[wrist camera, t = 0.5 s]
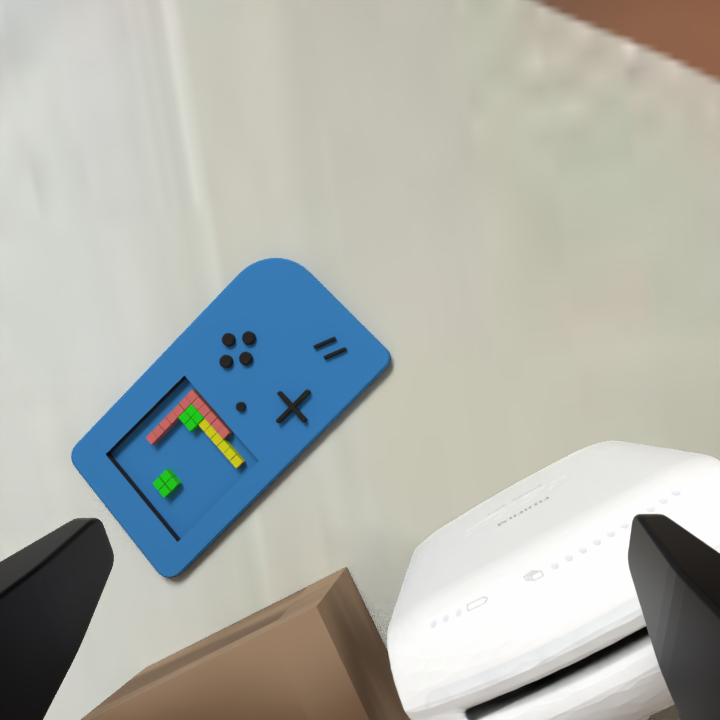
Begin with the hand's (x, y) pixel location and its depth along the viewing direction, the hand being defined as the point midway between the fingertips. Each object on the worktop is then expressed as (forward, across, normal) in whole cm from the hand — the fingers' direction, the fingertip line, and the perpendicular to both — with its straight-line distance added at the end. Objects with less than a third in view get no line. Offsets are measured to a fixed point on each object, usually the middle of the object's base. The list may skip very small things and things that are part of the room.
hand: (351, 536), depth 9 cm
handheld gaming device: (+15, +8, +6) cm, 18 cm away
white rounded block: (+12, -5, +10) cm, 16 cm away
